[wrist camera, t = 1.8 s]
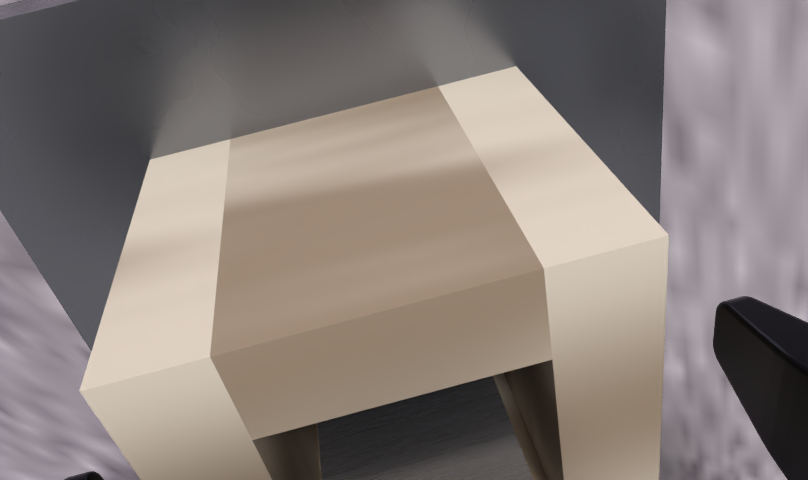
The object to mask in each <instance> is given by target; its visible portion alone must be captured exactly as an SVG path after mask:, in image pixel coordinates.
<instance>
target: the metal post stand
mask: <svg viewBox="0 0 808 480" xmlns="http://www.w3.org/2000/svg"><path fill="white" fill-rule="evenodd" d="M665 20H666V0H23V1H19V2H15V3H11V4H7V5H3V6H0V210H1V212H2V213H3V215H4V217H5V218H6V220H7V221H8V223H9V224H10V226H11V227H12V229H13V231H14V232H15V234H16V235H17V237H18V238H19V240H20V241H21V243H22V244H23V246H24V248H25V249H26V251H27V252H28V254H29V255H30V257H31V258H32V260H33V262H34V263H35V265H36V266H37V268H38V269H39V271H40V272H41V274H42V275H43V277H44V279H45V280H46V282H47V283H48V285H49V286H50V288H51V289H52V291H53V293H54V294H55V296H56V297H57V299H58V300H59V302H60V303H61V305H62V307H63V308H64V310H65V311H66V313H67V314H68V316H69V317H70V319H71V320H72V322H73V324H74V325H75V327H76V328H77V330H78V331H79V333H80V334H81V336H82V338H83V339H84V341H85V342H86V344H87V345H88V347H89V348H90V350H91V351H92V348H93V345H94V342H95V338H96V335H97V332H98V329H99V325H100V322H101V319H102V316H103V312H104V309H105V306H106V302H107V299H108V296H109V293H110V289H111V286H112V283H113V279H114V276H115V273H116V270H117V266H118V263H119V260H120V256H121V253H122V250H123V247H124V243H125V240H126V237H127V233H128V230H129V227H130V224H131V220H132V217H133V214H134V210H135V207H136V204H137V201H138V197H139V194H140V191H141V187H142V184H143V181H144V178H145V174H146V171H147V168H148V164H149V161H150V160H151V159H155V158H159V157H162V156H166V155H170V154H174V153H178V152H182V151H186V150H190V149H194V148H198V147H202V146H206V145H210V144H213V143H217V142H221V141H225V140H229V139H233V138H237V137H241V136H245V135H249V134H253V133H257V132H261V131H264V130H268V129H272V128H276V127H280V126H284V125H288V124H292V123H296V122H300V121H304V120H308V119H311V118H315V117H319V116H323V115H327V114H331V113H335V112H339V111H343V110H347V109H351V108H355V107H359V106H362V105H366V104H370V103H374V102H378V101H382V100H386V99H390V98H394V97H398V96H402V95H406V94H410V93H413V92H417V91H421V90H425V89H429V88H433V87H437V86H441V85H445V84H449V83H453V82H457V81H460V80H464V79H468V78H472V77H476V76H480V75H484V74H488V73H492V72H496V71H500V70H504V69H508V68H511V67H515V66H516V67H517V68H518V69H519V70H520V71H521V72H522V73H523V74H524V75H525V77H526V78H527V79H528V80H529V81H530V82H531V83H532V84H533V85H534V86H535V88H536V89H537V90H538V91H539V92H540V93H541V94H542V95H543V96H544V98H545V99H546V100H547V101H548V102H549V103H550V104H551V105H552V106H553V108H554V109H555V110H556V111H557V112H558V113H559V114H560V115H561V116H562V117H563V119H564V120H565V121H566V122H567V123H568V124H569V125H570V126H571V127H572V129H573V130H574V131H575V132H576V133H577V134H578V135H579V136H580V137H581V139H582V140H583V141H584V142H585V143H586V144H587V145H588V146H589V147H590V148H591V150H592V151H593V152H594V153H595V154H596V155H597V156H598V157H599V158H600V160H601V161H602V162H603V163H604V164H605V165H606V166H607V167H608V168H609V170H610V171H611V172H612V173H613V174H614V175H615V176H616V177H617V178H618V179H619V181H620V182H621V183H622V184H623V185H624V186H625V187H626V188H627V189H628V191H629V192H630V193H631V194H632V195H633V196H634V197H635V198H636V199H637V201H638V202H639V203H640V204H641V205H642V206H643V207H644V208H645V209H646V210H647V212H648V213H649V214H650V215H651V216H652V217H653V218H654V219H655V220H656V222H657V223H658V224H659V219H660V186H661V152H662V119H663V86H664V53H665ZM317 428H318V439H319V451H320V463H321V475H322V480H533V478H532V475H531V473H530V470H529V468H528V465H527V463H526V460H525V457H524V455H523V452H522V450H521V447H520V445H519V442H518V439H517V437H516V434H515V432H514V429H513V427H512V424H511V421H510V419H509V416H508V414H507V411H506V409H505V406H504V403H503V401H502V398H501V396H500V393H499V391H498V388H497V385H496V383H495V380H494V378H493V376H489V377H486V378H482V379H478V380H475V381H471V382H467V383H463V384H460V385H456V386H452V387H449V388H445V389H441V390H437V391H434V392H430V393H426V394H423V395H419V396H415V397H411V398H408V399H404V400H400V401H397V402H393V403H389V404H385V405H382V406H378V407H374V408H371V409H367V410H363V411H359V412H356V413H352V414H348V415H345V416H341V417H337V418H333V419H330V420H326V421H322V422H319V423H317Z"/></svg>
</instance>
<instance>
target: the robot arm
mask: <svg viewBox="0 0 808 480" xmlns="http://www.w3.org/2000/svg"><path fill="white" fill-rule="evenodd" d="M713 348H714V352H715V355H716V358H717V360H718V362H719V364H720V365H721V367H722V369H723V371H724V373H725V375H726V376H727V378H728V380H729V382H730V384H731V385H732V387H733V389H734V391H735V393H736V394H737V396H738V398H739V400H740V402H741V404H742V405H743V407H744V409H745V411H746V413H747V414H748V416H749V418H750V420H751V422H752V424H753V425H754V427H755V429H756V431H757V433H758V434H759V436H760V438H761V440H762V441H763V443H764V445H765V446H766V448H767V450H768V452H769V453H770V455H771V456H772V458H773V459H774V461H775V462H776V464H777V465H778V467H779V468H780V469H781V471H782V472H783V474H784V475H785V477H786V478H787V479H788V480H808V322H805V321H803V320H801V319H799V318H797V317H794V316H792V315H790V314H788V313H785V312H783V311H781V310H779V309H777V308H774V307H772V306H770V305H768V304H766V303H763V302H761V301H759V300H757V299H754V298H752V297H748V296H743V297H739V298H735V299H731V300H727V301H724V302H721V303H720V304H719V305H718V307H717V309H716V317H715V327H714V338H713ZM64 480H104V479H103V478H102V477H101V476H100V475H99V474H98V473H96V472H94V471H92V472H86V473H83V474H79V475H75V476H71V477H68V478H66V479H64Z"/></svg>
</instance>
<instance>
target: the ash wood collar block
mask: <svg viewBox="0 0 808 480" xmlns="http://www.w3.org/2000/svg"><path fill="white" fill-rule="evenodd" d="M668 243H669V235H668V234H667V233H666V232H665V230H664V229H663V228H662V227H661V226H660V225H659V224H658V223H657V222H656V220H655V219H654V218H653V217H652V216H651V215H650V214H649V213H648V212H647V210H646V209H645V208H644V207H643V206H642V205H641V204H640V203H639V202H638V201H637V199H636V198H635V197H634V196H633V195H632V194H631V193H630V192H629V191H628V189H627V188H626V187H625V186H624V185H623V184H622V183H621V182H620V181H619V179H618V178H617V177H616V176H615V175H614V174H613V173H612V172H611V171H610V170H609V168H608V167H607V166H606V165H605V164H604V163H603V162H602V161H601V160H600V158H599V157H598V156H597V155H596V154H595V153H594V152H593V151H592V150H591V148H590V147H589V146H588V145H587V144H586V143H585V142H584V141H583V140H582V139H581V137H580V136H579V135H578V134H577V133H576V132H575V131H574V130H573V129H572V127H571V126H570V125H569V124H568V123H567V122H566V121H565V120H564V119H563V117H562V116H561V115H560V114H559V113H558V112H557V111H556V110H555V109H554V108H553V106H552V105H551V104H550V103H549V102H548V101H547V100H546V99H545V98H544V96H543V95H542V94H541V93H540V92H539V91H538V90H537V89H536V88H535V86H534V85H533V84H532V83H531V82H530V81H529V80H528V79H527V78H526V77H525V75H524V74H523V73H522V72H521V71H520V70H519V69H518V68H517V67H516V66H515V67H511V68H508V69H504V70H500V71H496V72H492V73H488V74H484V75H480V76H476V77H472V78H468V79H464V80H460V81H457V82H453V83H449V84H445V85H441V86H437V87H433V88H429V89H425V90H421V91H417V92H413V93H410V94H406V95H402V96H398V97H394V98H390V99H386V100H382V101H378V102H374V103H370V104H366V105H362V106H359V107H355V108H351V109H347V110H343V111H339V112H335V113H331V114H327V115H323V116H319V117H315V118H311V119H308V120H304V121H300V122H296V123H292V124H288V125H284V126H280V127H276V128H272V129H268V130H264V131H261V132H257V133H253V134H249V135H245V136H241V137H237V138H233V139H229V140H225V141H221V142H217V143H213V144H210V145H206V146H202V147H198V148H194V149H190V150H186V151H182V152H178V153H174V154H170V155H166V156H162V157H159V158H155V159H151V160H150V161H149V164H148V168H147V171H146V174H145V178H144V181H143V184H142V187H141V191H140V194H139V197H138V201H137V204H136V207H135V210H134V214H133V217H132V220H131V224H130V227H129V230H128V233H127V237H126V240H125V243H124V247H123V250H122V253H121V256H120V260H119V263H118V266H117V270H116V273H115V276H114V279H113V283H112V286H111V289H110V293H109V296H108V299H107V302H106V306H105V309H104V312H103V316H102V319H101V322H100V325H99V329H98V332H97V335H96V338H95V342H94V345H93V348H92V352H91V355H90V358H89V361H88V365H87V368H86V371H85V375H84V378H83V381H82V384H81V388H80V393H81V394H82V396H83V397H84V399H85V400H86V402H87V403H88V404H89V406H90V407H91V409H92V410H93V412H94V413H95V415H96V416H97V417H98V419H99V420H100V422H101V423H102V425H103V426H104V428H105V429H106V430H107V432H108V433H109V435H110V436H111V438H112V439H113V441H114V442H115V443H116V445H117V446H118V448H119V449H120V451H121V452H122V454H123V455H124V456H125V458H126V459H127V461H128V462H129V464H130V465H131V467H132V468H133V469H134V471H135V472H136V474H137V475H138V477H139V478H140V480H322V475H321V463H320V451H319V439H318V428H317V423H319V422H322V421H326V420H330V419H333V418H337V417H341V416H345V415H348V414H352V413H356V412H359V411H363V410H367V409H371V408H374V407H378V406H382V405H385V404H389V403H393V402H397V401H400V400H404V399H408V398H411V397H415V396H419V395H423V394H426V393H430V392H434V391H437V390H441V389H445V388H449V387H452V386H456V385H460V384H463V383H467V382H471V381H475V380H478V379H482V378H486V377H489V376H493V378H494V380H495V383H496V385H497V388H498V391H499V393H500V396H501V398H502V401H503V403H504V406H505V409H506V411H507V414H508V416H509V419H510V421H511V424H512V427H513V429H514V432H515V434H516V437H517V439H518V442H519V445H520V447H521V450H522V452H523V455H524V457H525V460H526V463H527V465H528V468H529V470H530V473H531V475H532V478H533V480H659V466H660V441H661V416H662V391H663V367H664V342H665V317H666V293H667V268H668Z"/></svg>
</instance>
